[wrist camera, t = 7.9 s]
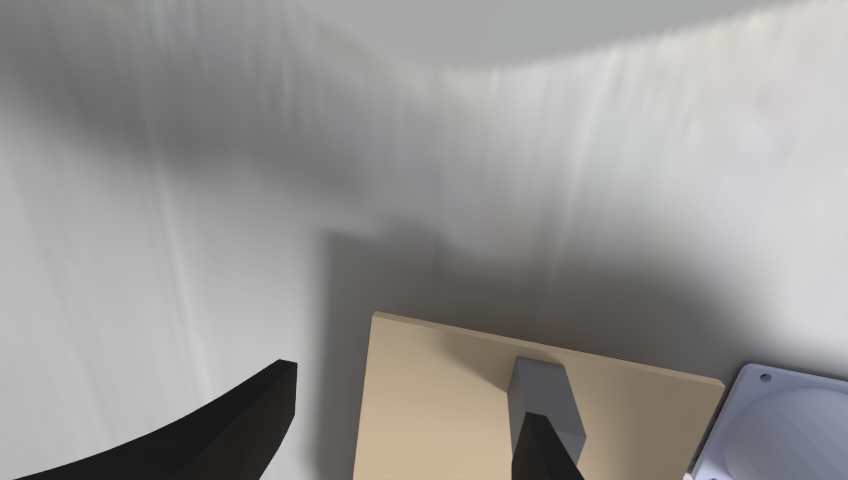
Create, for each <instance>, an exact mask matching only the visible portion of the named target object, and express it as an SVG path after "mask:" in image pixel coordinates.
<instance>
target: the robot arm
mask: <svg viewBox="0 0 848 480" xmlns="http://www.w3.org/2000/svg"><path fill="white" fill-rule="evenodd" d="M297 364H298V363H295V362H291V361H286V360H281V359H279V360H277V361H275V362H274V363H272V364H271V365H269V366H267V367H266V368H264V369H263V370H261V371H260V372H258V373H257V374H255V375H254V376H252V377H251V378H249V379H247V380H246V381H244V382H243V383H241V384H240V385H238V386H236V387H235V388H233V389H232V390H230V391H228V392H227V393H225V394H224V395H222V396H220V397H219V398H217V399H215V400H213V401H212V402H210V403H208V404H206V405H204V406H203V407H201V408H199V409H197V410H196V411H194V412H192V413H190V414H188V415H186V416H185V417H183V418H181V419H179V420H177V421H175V422H173V423H170V424H168V425H166V426H164V427H162V428H160V429H158V430H156V431H153V432H151V433H149V434H147V435H144V436H142V437H139V438H137V439H134V440H132V441H129V442H127V443H125V444H122V445H120V446H117V447H115V448H112V449H110V450H107V451H104V452H102V453H99V454H96V455H93V456H90V457H87V458H85V459H82V460H79V461H75V462H72V463H69V464H66V465H63V466H60V467H57V468H53V469H50V470H47V471H43V472H40V473H36V474H32V475H29V476H25V477H21V478H18V479H14V480H259V479H260V477H261V476H262V474H263V473H264V471H265V469H266V468H267V466H268V465H269V463H270V461H271V460H272V458H273V456H274V455H275V453H276V452H277V450H278V448H279V447H280V445H281V443H282V441H283V439H284V437H285V435H286V433H287V431H288V428H289V426H290V424H291V422H292V420H293V418H294V415H295V402H296V383H297ZM763 374H766V375H765V376H764V377H762V378H760V377H761V375H763ZM691 476H692V479H693V480H848V382H846V381H841V380H836V379H831V378H826V377H821V376H816V375H811V374H805V373H800V372H795V371H790V370H785V369H780V368H775V367H770V366H764V365H759V364H747V365H745V366H744V367H743V368H742V369H741V370H740V372H739V375H738V377H737V379H736V381H735V383H734V385H733V387H732V389H731V391H730V393H729V395H728V398H727V400H726V402H725V404H724V406H723V408H722V410H721V412H720V414H719V416H718V419H717V421H716V423H715V425H714V427H713V429H712V431H711V433H710V435H709V437H708V439H707V442H706V444H705V446H704V448H703V450H702V452H701V454H700V456H699V458H698V460H697V462H696V465H695V467H694V469H693V471H692V473H691ZM712 478H713V479H712ZM511 480H585V479H584V478H583V476H582V474H581V473H580V471H579V470H578V468H577V467H576V465H575V463H574V462H573V460H572V459H571V457H570V455H569V454H568V452H567V450H566V448H565V447H564V445H563V443H562V442H561V440H560V438H559V437H558V435H557V433H556V431H555V430H554V428H553V426H552V424H551V423H550V421H549V419H548V418H547V416H544V415H540V414H535V413H530V412H526V413H525V417H524V420H523V424H522V428H521V431H520V435H519V438H518V442H517V445H516V449H515V452H514V456H513V459H512V463H511Z"/></svg>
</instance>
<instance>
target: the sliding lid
mask: <svg viewBox="0 0 848 480" xmlns="http://www.w3.org/2000/svg"><path fill="white" fill-rule="evenodd" d="M725 388H726V387H725V385H724V384H723V383H722V382H721V381H720V380H719V379H715V378H710V377H705V376H700V375H695V374H690V373H685V372H680V371H675V370H670V369H665V368H660V367H655V366H650V365H645V364H640V363H635V362H630V361H625V360H620V359H615V358H609V357H604V356H599V355H594V354H589V353H584V352H579V351H574V350H569V349H564V348H559V347H554V346H549V345H544V344H539V343H534V342H529V341H524V340H519V339H514V338H509V337H504V336H499V335H494V334H489V333H484V332H479V331H474V330H469V329H464V328H459V327H454V326H449V325H444V324H439V323H434V322H429V321H424V320H419V319H414V318H409V317H404V316H399V315H394V314H389V313H384V312H379V311H375V312H374V314H373V316H372V322H371V331H370V339H369V348H368V356H367V364H366V373H365V381H364V389H363V398H362V406H361V414H360V423H359V431H358V440H357V448H356V456H355V465H354V473H353V480H511V463H512V459H513V456H514V452H515V449H516V445H517V442H518V438H519V435H520V431H521V428H522V424H523V420H524V417H525V413H526V412H530V413H535V414H540V415H544V416H547V418H548V419H549V421H550V423H551V424H552V426H553V428H554V430H555V431H556V433H557V435H558V437H559V438H560V440H561V442H562V443H563V445H564V447H565V448H566V450H567V452H568V454H569V455H570V457H571V459H572V460H573V462H574V463H575V465H576V467H577V468H578V470H579V471H580V473H581V474H582V476H583V478H584V479H585V480H682V479H683V477H684V475H685V473H686V471H687V469H688V467H689V464H690V462H691V460H692V458H693V456H694V454H695V452H696V450H697V448H698V445H699V443H700V441H701V439H702V437H703V435H704V433H705V431H706V428H707V426H708V424H709V422H710V420H711V418H712V416H713V414H714V411H715V409H716V407H717V405H718V403H719V401H720V399H721V397H722V394H723V392H724V390H725Z"/></svg>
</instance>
